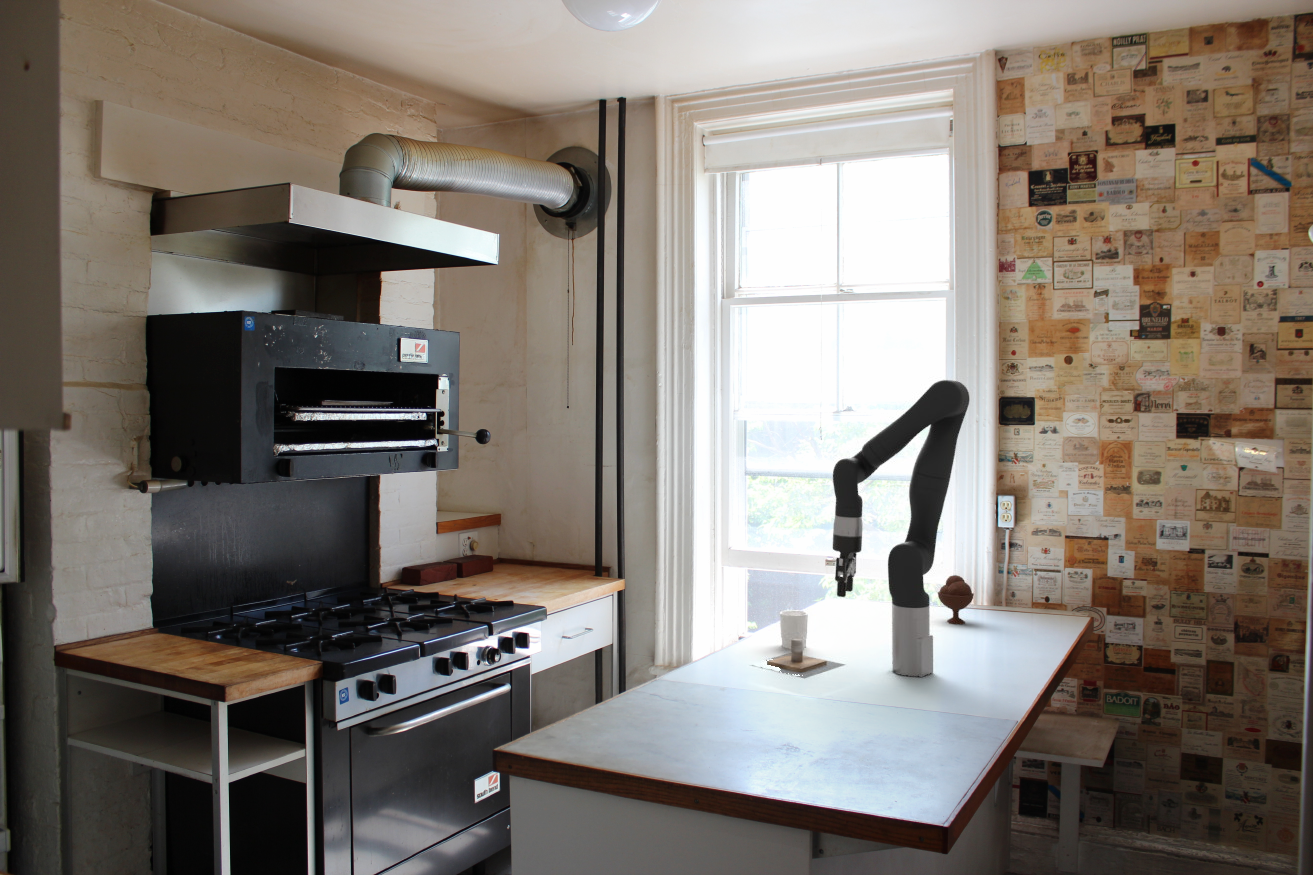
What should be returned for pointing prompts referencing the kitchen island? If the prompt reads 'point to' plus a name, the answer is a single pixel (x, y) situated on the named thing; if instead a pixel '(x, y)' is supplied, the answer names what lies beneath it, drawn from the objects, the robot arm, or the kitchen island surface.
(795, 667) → the lid
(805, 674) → the mat
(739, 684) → the kitchen island surface
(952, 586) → the ice cream bowl
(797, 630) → the white cup
